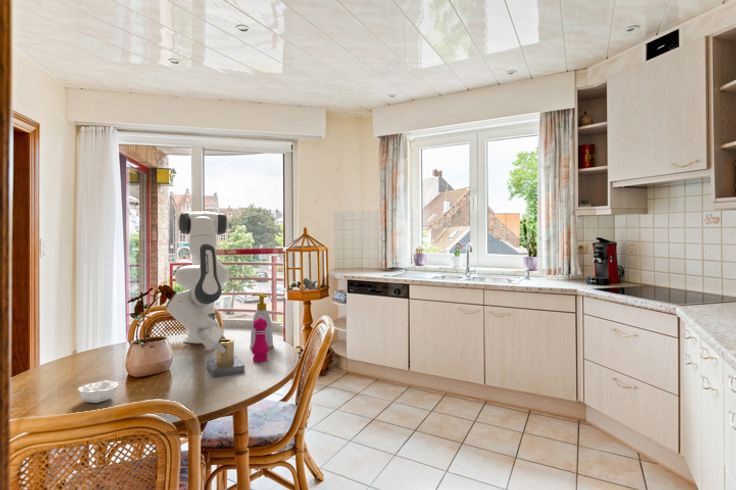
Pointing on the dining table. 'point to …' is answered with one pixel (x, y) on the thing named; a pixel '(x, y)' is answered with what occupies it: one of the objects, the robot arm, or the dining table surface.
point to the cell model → (98, 391)
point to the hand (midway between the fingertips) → (226, 348)
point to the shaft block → (225, 368)
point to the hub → (226, 352)
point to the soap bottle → (265, 315)
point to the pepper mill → (260, 340)
